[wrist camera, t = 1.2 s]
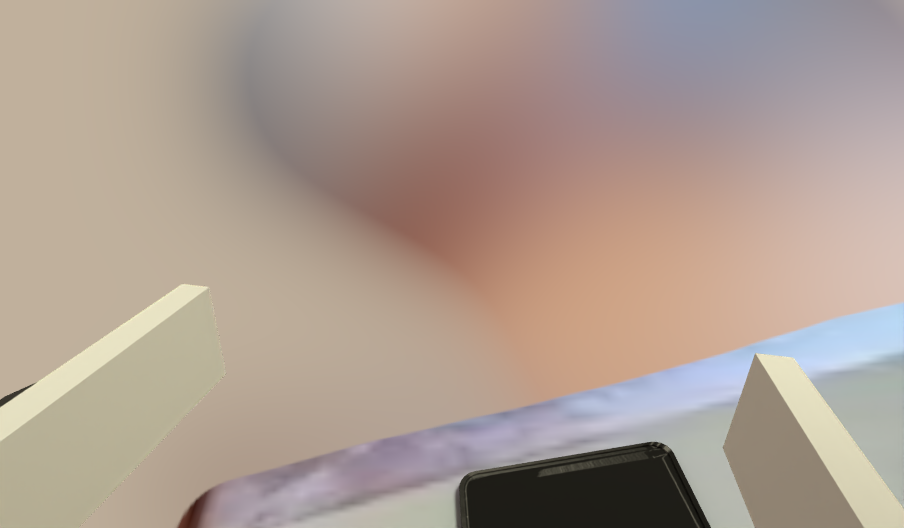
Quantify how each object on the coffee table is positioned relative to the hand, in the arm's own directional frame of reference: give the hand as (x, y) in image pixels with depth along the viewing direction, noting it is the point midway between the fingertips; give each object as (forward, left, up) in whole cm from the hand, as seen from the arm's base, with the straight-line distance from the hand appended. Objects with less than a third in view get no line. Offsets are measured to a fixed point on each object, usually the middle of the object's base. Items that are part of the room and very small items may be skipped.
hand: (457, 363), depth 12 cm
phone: (+1, -11, -25) cm, 27 cm away
